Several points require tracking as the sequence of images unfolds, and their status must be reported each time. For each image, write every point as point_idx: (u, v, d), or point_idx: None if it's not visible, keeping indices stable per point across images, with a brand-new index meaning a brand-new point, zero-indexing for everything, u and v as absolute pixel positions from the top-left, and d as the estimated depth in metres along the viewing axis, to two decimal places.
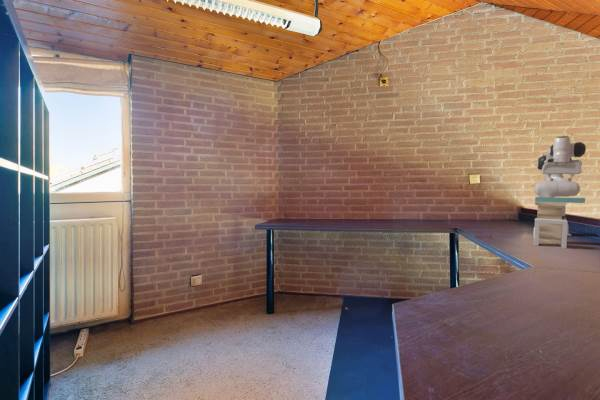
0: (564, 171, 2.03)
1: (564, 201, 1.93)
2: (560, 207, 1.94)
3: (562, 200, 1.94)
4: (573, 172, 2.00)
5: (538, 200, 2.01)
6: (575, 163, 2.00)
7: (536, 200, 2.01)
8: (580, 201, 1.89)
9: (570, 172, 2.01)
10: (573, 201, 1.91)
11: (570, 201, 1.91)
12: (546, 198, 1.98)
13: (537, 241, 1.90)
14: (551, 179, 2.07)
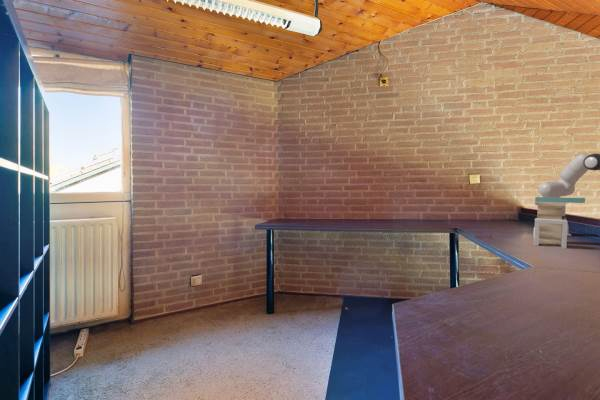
0: None
1: (564, 201, 1.93)
2: (560, 207, 1.94)
3: (562, 200, 1.94)
4: None
5: (538, 200, 2.01)
6: None
7: (536, 200, 2.01)
8: (580, 201, 1.89)
9: None
10: (573, 201, 1.91)
11: (570, 201, 1.91)
12: (546, 198, 1.98)
13: (537, 241, 1.90)
14: None
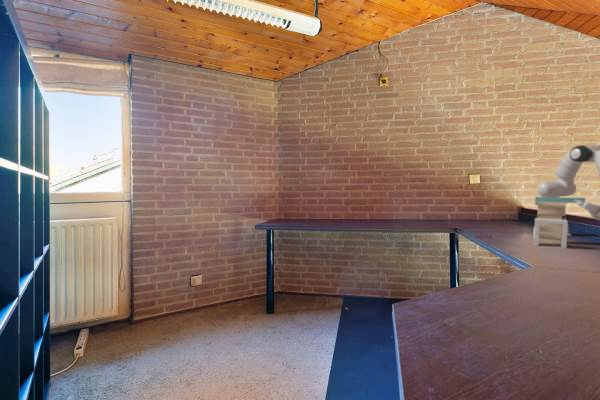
0: None
1: (564, 201, 1.93)
2: (560, 207, 1.94)
3: (562, 200, 1.94)
4: None
5: (538, 200, 2.01)
6: None
7: (536, 200, 2.01)
8: None
9: None
10: (573, 201, 1.91)
11: (570, 201, 1.91)
12: (546, 198, 1.98)
13: (537, 241, 1.90)
14: (574, 201, 1.90)
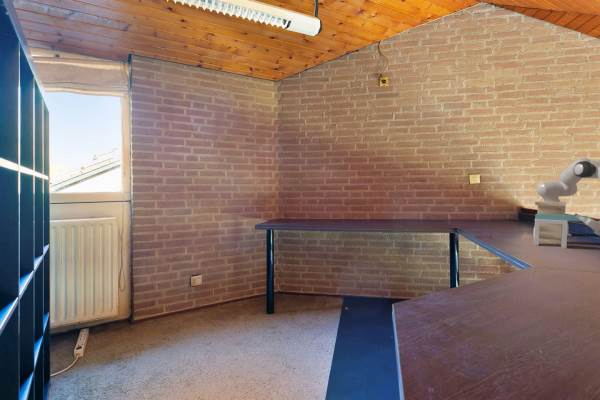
0: None
1: (566, 219, 1.83)
2: (560, 207, 1.94)
3: (564, 218, 1.84)
4: None
5: (538, 218, 1.91)
6: None
7: (536, 217, 1.91)
8: None
9: None
10: (575, 219, 1.81)
11: (572, 219, 1.81)
12: (547, 215, 1.88)
13: (537, 241, 1.90)
14: (577, 217, 1.79)
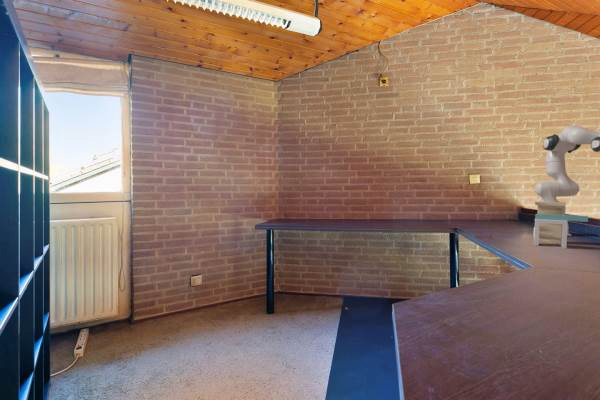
0: None
1: (566, 219, 1.83)
2: (560, 207, 1.94)
3: (564, 218, 1.84)
4: None
5: (538, 218, 1.91)
6: None
7: (536, 217, 1.91)
8: (583, 220, 1.79)
9: None
10: (575, 219, 1.81)
11: (572, 219, 1.81)
12: (547, 215, 1.88)
13: (537, 241, 1.90)
14: None
